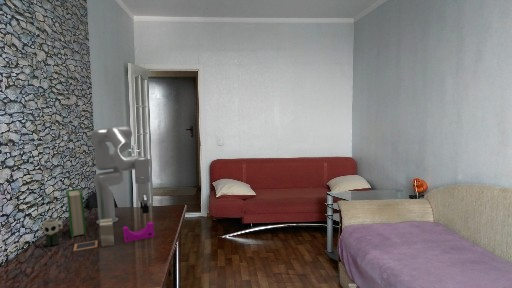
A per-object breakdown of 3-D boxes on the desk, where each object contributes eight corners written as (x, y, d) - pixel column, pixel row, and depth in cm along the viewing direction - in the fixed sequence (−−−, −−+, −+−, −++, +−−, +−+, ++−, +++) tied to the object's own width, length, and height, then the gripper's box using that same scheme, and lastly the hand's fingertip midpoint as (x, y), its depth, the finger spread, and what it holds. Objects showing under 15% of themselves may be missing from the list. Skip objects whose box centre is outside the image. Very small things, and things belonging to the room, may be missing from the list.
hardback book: (86, 235, 203) (82, 193, 201) (71, 237, 200) (67, 195, 198) (83, 227, 219) (80, 188, 217) (70, 229, 215) (66, 190, 213)
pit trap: (74, 244, 188) (74, 244, 188) (97, 241, 192) (97, 240, 192) (73, 251, 179) (73, 250, 179) (97, 247, 183) (97, 246, 183)
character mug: (39, 248, 185) (37, 224, 184) (42, 244, 192) (39, 220, 190) (63, 244, 189) (61, 220, 188) (65, 240, 195) (62, 217, 194)
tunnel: (101, 239, 194) (100, 219, 193) (113, 237, 196) (112, 217, 195) (101, 247, 183) (99, 225, 182) (114, 244, 185) (112, 223, 184)
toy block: (152, 233, 200) (151, 220, 200) (154, 237, 195) (153, 223, 194) (123, 239, 194) (122, 225, 193) (124, 242, 188) (123, 228, 188)
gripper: (134, 177, 201) (136, 207, 203) (136, 183, 185) (138, 215, 187) (148, 176, 204) (150, 205, 206) (151, 182, 188) (153, 213, 190)
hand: (144, 210), depth 196 cm, fingers open, 9 cm apart
